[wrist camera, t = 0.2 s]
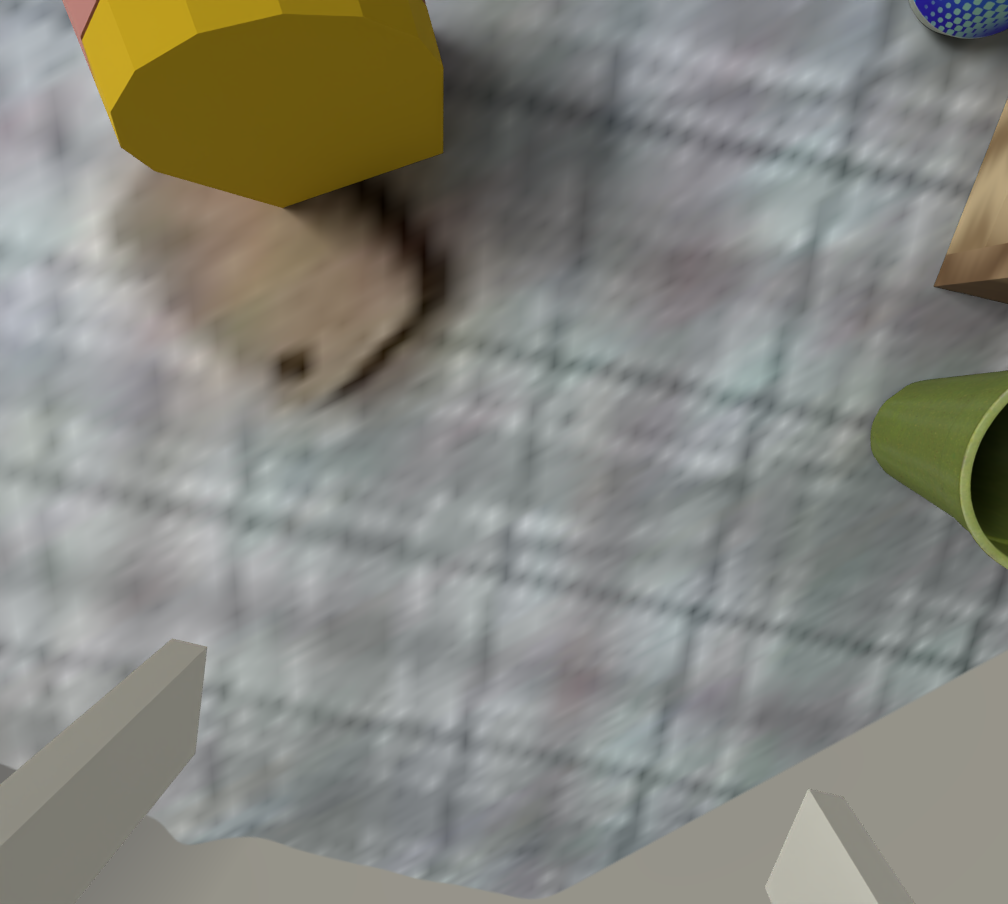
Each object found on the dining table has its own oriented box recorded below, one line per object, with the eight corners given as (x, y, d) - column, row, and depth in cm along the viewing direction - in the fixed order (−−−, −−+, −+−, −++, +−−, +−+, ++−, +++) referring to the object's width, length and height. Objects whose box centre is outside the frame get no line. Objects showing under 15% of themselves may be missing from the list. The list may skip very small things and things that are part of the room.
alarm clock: (429, 2, 32) (304, -406, 15) (468, 144, 34) (399, -67, 16) (211, 84, 34) (-144, -192, 16) (258, 216, 36) (-17, 96, 18)
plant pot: (1027, 480, 37) (1237, 542, 26) (853, 531, 38) (982, 611, 27) (1000, 316, 35) (1217, 307, 24) (816, 376, 36) (941, 395, 25)
